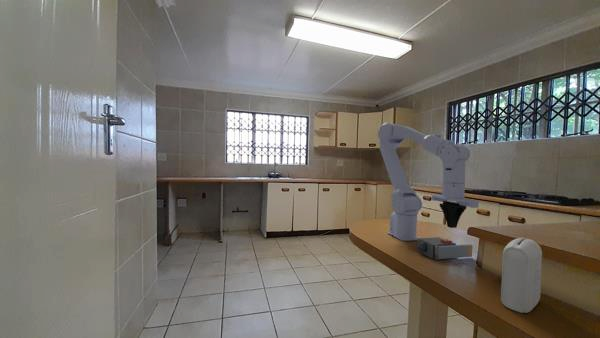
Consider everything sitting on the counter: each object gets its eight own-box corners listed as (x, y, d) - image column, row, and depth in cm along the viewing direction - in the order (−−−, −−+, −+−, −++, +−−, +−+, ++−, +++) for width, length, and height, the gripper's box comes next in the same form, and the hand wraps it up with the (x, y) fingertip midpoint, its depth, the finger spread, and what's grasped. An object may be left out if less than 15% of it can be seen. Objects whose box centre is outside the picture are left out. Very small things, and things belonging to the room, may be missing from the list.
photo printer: (514, 290, 49) (516, 232, 49) (543, 300, 45) (545, 238, 45) (497, 304, 43) (499, 239, 43) (528, 317, 40) (531, 246, 39)
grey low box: (414, 251, 70) (414, 236, 70) (438, 249, 72) (439, 235, 72) (429, 259, 64) (430, 243, 64) (455, 257, 66) (456, 241, 66)
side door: (434, 258, 64) (434, 245, 64) (469, 256, 67) (470, 243, 67) (436, 260, 63) (437, 246, 63) (472, 257, 66) (472, 244, 66)
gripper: (424, 181, 76) (423, 221, 76) (464, 184, 62) (463, 234, 62) (441, 181, 78) (440, 221, 78) (485, 185, 64) (483, 233, 64)
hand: (451, 227), depth 70 cm, fingers closed
